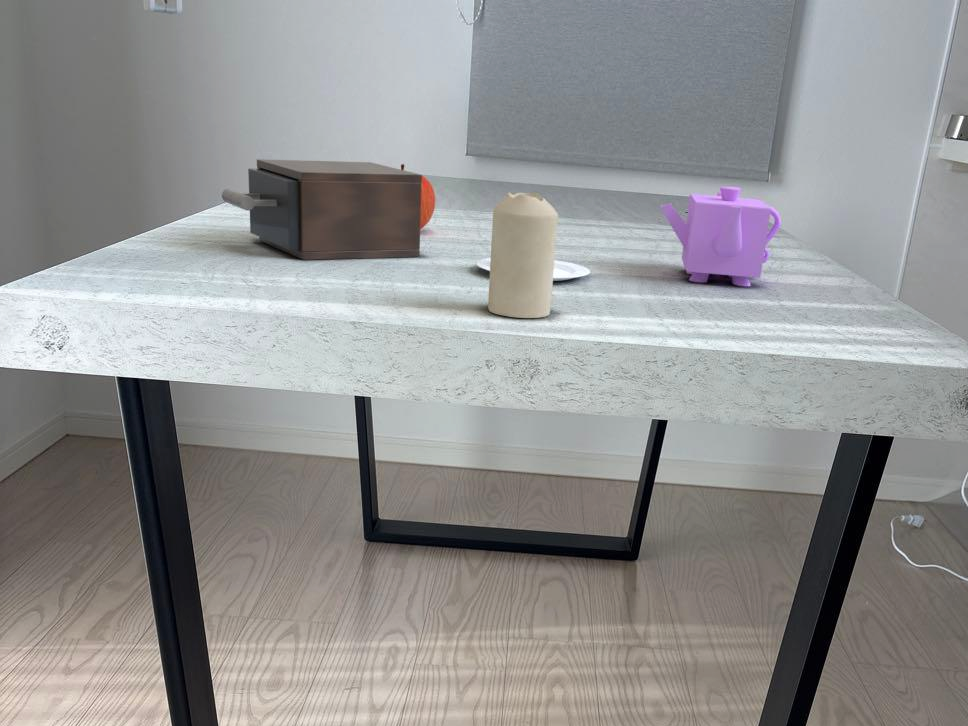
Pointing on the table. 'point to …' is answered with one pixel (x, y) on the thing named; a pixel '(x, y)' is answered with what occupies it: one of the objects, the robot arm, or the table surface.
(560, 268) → the white saucer
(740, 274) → the teapot
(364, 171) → the cabinet
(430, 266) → the table surface
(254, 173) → the drawer
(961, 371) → the table surface
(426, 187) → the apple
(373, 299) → the table surface
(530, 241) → the candle
